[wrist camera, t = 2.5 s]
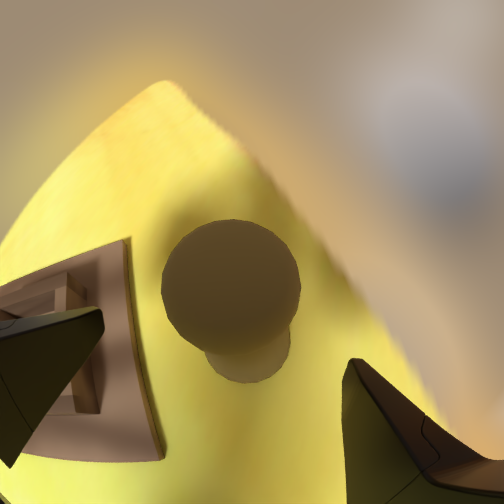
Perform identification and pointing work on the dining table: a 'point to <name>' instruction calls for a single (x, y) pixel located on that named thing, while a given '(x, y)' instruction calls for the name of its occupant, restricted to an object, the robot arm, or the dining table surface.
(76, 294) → the holder board
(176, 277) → the cork
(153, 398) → the dining table surface
